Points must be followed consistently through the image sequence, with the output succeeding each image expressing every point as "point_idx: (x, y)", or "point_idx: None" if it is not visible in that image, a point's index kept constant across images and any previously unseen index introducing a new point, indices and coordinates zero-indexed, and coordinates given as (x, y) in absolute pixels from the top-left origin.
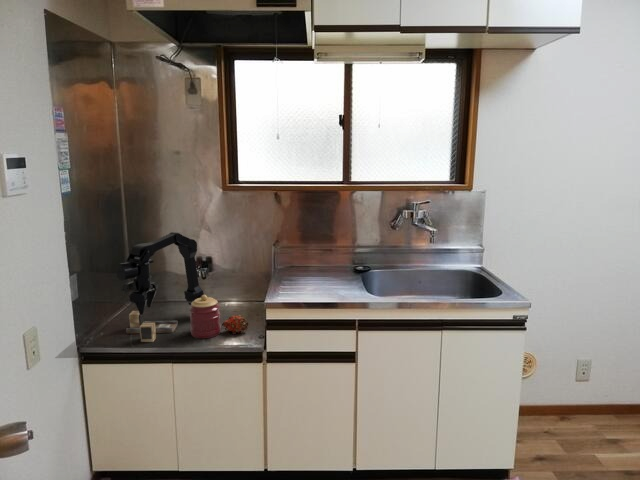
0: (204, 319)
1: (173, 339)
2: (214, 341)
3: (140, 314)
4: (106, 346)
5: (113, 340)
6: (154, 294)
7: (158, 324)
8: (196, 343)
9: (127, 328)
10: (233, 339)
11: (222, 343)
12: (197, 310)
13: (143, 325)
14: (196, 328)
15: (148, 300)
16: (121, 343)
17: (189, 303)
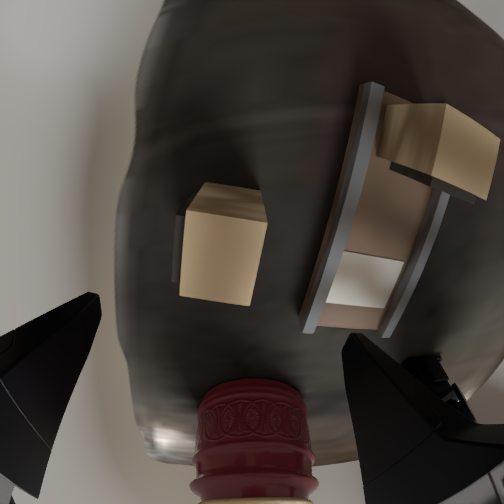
0: (194, 465)
1: (210, 326)
2: (177, 417)
3: (89, 295)
4: (184, 13)
5: (267, 26)
6: (366, 499)
7: (407, 252)
8: (163, 386)
9: (376, 89)
10: (188, 442)
11: (162, 426)
12: (202, 489)
13: (199, 235)
14: (203, 421)
15: (375, 406)
16: (207, 75)
17: (453, 390)
